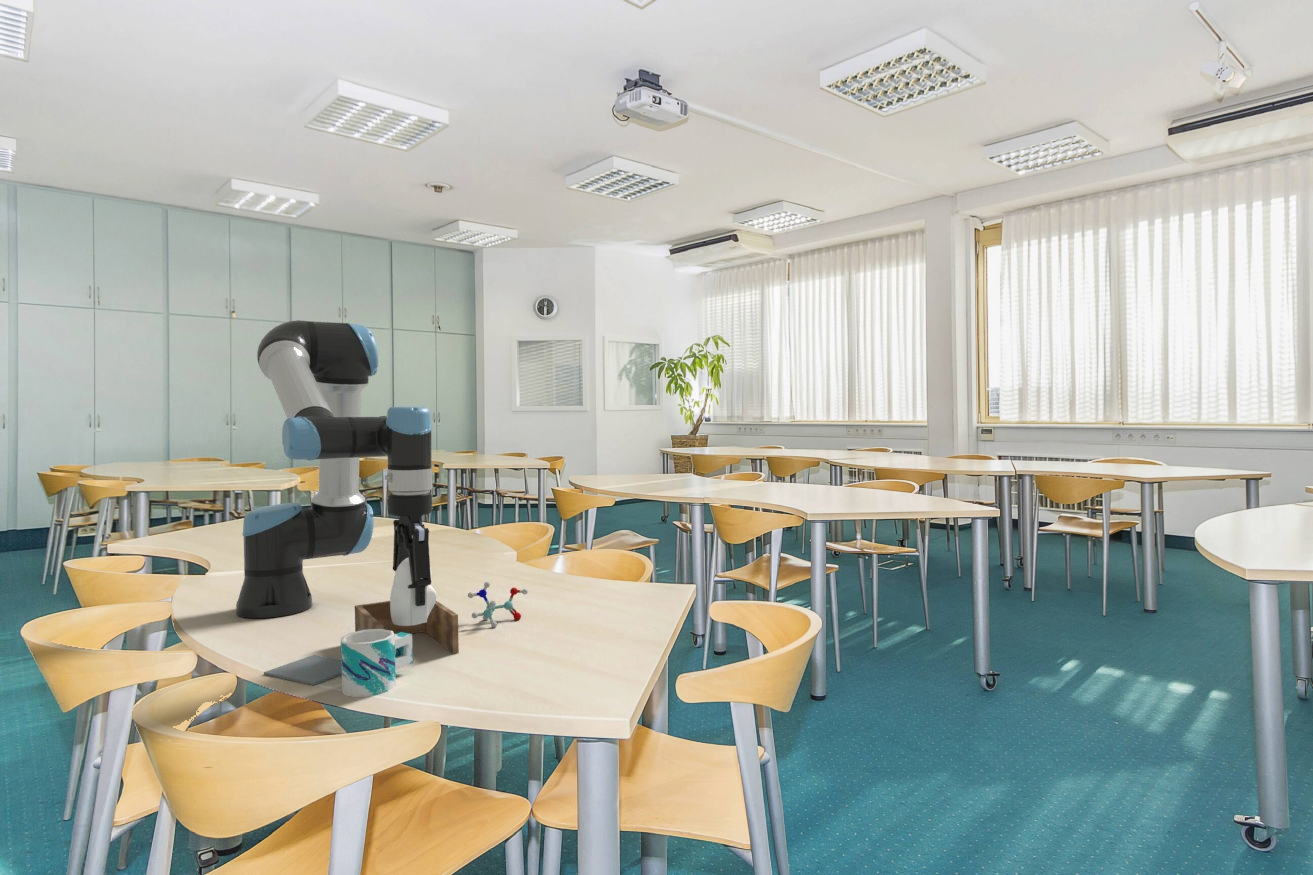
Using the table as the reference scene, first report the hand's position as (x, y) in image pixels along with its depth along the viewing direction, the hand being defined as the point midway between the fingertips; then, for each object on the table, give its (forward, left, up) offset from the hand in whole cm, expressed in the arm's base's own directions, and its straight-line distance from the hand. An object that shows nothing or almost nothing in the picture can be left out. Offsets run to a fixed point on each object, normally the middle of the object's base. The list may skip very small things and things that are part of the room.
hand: (411, 616), depth 135 cm
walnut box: (-4, +2, -7) cm, 8 cm away
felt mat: (-9, -14, -7) cm, 18 cm away
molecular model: (0, +23, -7) cm, 24 cm away
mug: (+6, -13, -7) cm, 16 cm away
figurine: (0, 0, -1) cm, 1 cm away
